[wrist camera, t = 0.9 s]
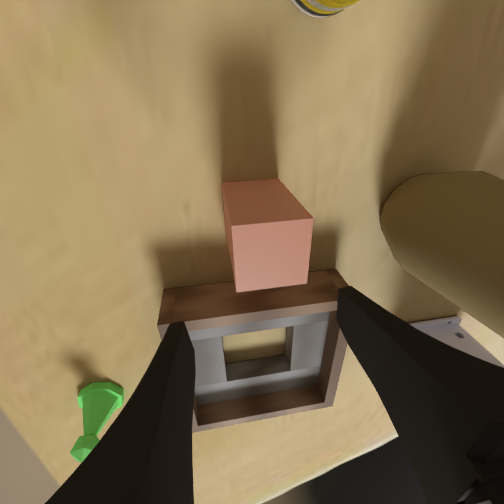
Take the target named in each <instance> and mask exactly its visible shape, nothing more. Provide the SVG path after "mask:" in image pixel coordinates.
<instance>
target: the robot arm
mask: <svg viewBox="0 0 504 504" xmlns="http://www.w3.org/2000/svg"><path fill="white" fill-rule="evenodd" d="M336 320H337V322H338V325H339V327H340V329H341V331H342V333H343V336H344V338H345V340H346V341H347V343H348V345H349V346H350V348H351V350H352V351H353V353H354V355H355V356H356V358H357V359H358V361H359V363H360V364H361V366H362V367H363V369H364V371H365V372H366V374H367V375H368V377H369V379H370V380H371V382H372V384H373V385H374V387H375V389H376V391H377V392H378V394H379V396H380V398H381V400H382V402H383V404H384V406H385V408H386V410H387V412H388V414H389V417H390V419H391V421H392V423H393V425H394V427H395V429H396V431H397V433H398V436H399V437H400V440H401V442H402V444H403V446H404V449H405V451H406V453H407V456H408V458H409V460H410V462H411V465H412V467H413V469H414V471H415V474H416V476H417V479H418V481H419V483H420V486H421V488H422V491H423V493H424V495H425V498H426V500H427V503H428V504H504V365H503V364H502V363H501V362H500V361H499V360H497V359H496V358H495V357H494V356H493V355H492V354H491V353H490V352H489V351H488V350H486V349H485V348H484V347H483V346H482V345H481V344H480V343H479V342H478V341H476V340H475V339H474V338H473V337H472V336H471V335H470V334H469V333H468V332H466V331H465V330H464V329H463V328H462V327H461V326H460V325H459V324H460V322H461V318H460V317H458V316H455V317H448V318H442V319H435V320H429V321H422V322H416V323H409V324H408V323H406V322H405V321H403V320H401V319H400V318H398V317H396V316H395V315H393V314H392V313H390V312H388V311H387V310H385V309H384V308H382V307H381V306H379V305H378V304H376V303H375V302H374V301H372V300H371V299H369V298H368V297H366V296H365V295H363V294H362V293H361V292H359V291H358V290H356V289H355V288H353V287H352V286H348V287H343V288H338V302H337V317H336ZM195 377H196V367H195V350H194V347H193V345H192V342H191V339H190V336H189V334H188V331H187V328H186V325H185V323H184V321H180V322H175V323H171V324H169V326H168V328H167V330H166V332H165V335H164V337H163V339H162V341H161V343H160V345H159V347H158V349H157V352H156V353H155V355H154V357H153V359H152V361H151V363H150V365H149V367H148V369H147V371H146V372H145V374H144V376H143V378H142V379H141V381H140V383H139V384H138V386H137V388H136V389H135V391H134V393H133V394H132V396H131V397H130V399H129V401H128V402H127V404H126V405H125V407H124V408H123V410H122V411H121V412H120V414H119V415H118V417H117V418H116V420H115V421H114V422H113V424H112V425H111V426H110V428H109V429H108V430H107V432H106V433H105V434H104V436H103V437H102V438H101V440H100V441H99V442H98V443H97V445H96V446H95V447H94V448H93V450H92V451H91V452H90V453H89V454H88V456H87V457H86V458H85V459H84V460H83V462H82V463H81V464H80V465H79V466H78V468H77V469H76V470H75V471H74V472H73V474H72V475H71V476H70V477H69V478H68V479H67V480H66V482H65V483H64V484H63V485H62V486H61V487H60V488H59V489H58V490H57V491H56V492H55V494H54V495H53V496H52V497H51V498H50V499H49V500H48V501H47V502H46V503H45V504H194V495H193V467H192V422H193V407H194V393H195Z"/></svg>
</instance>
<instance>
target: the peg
mask: <svg viewBox="0 0 504 504" xmlns="http://www.w3.org/2000/svg"><path fill="white" fill-rule="evenodd" d="M222 192H223V204H224V216H225V227H226V237H227V242H228V248H229V254H230V259H231V265H232V271H233V276H234V282H235V288H236V292H244V291H252V290H260V289H268V288H276V287H284V286H292V285H300V284H307V278H308V268H309V258H310V249H311V239H312V229H313V219H314V218H313V217H312V216H311V215H310V214H309V213H308V211H307V210H306V209H305V208H304V207H303V206H302V205H301V204H300V202H299V201H298V200H297V199H296V198H295V197H294V196H293V194H292V193H291V192H290V191H289V190H288V189H287V188H286V187H285V185H284V184H283V183H282V182H281V181H280V180H279V179H264V180H251V181H237V182H223V183H222Z"/></svg>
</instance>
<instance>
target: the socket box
mask: <svg viewBox="0 0 504 504" xmlns="http://www.w3.org/2000/svg"><path fill="white" fill-rule="evenodd" d="M348 286H349V285H348V284H347V283H346V282H345V280H344V279H343V278H342V276H341V275H340V274H339V272H338V271H337V270H336V269H330V270H322V271H313V272H308V278H307V284H300V285H292V286H284V287H276V288H268V289H260V290H252V291H244V292H236V288H235V282H234V281H230V282H222V283H214V284H206V285H197V286H189V287H181V288H172V289H164V291H163V296H162V302H161V307H160V313H159V318H158V323H157V327H158V330H159V334H160V337H161V340H162V339H163V337H164V335H165V332H166V330H167V328H168V326H169V324H171V323H175V322H180V321H184V323H185V325H186V328H187V331H188V334H189V336H190V339H191V342H192V345H193V347H194V350H195V367H196V377H195V393H194V407H193V422H192V433H193V432H198V431H204V430H209V429H214V428H219V427H225V426H230V425H235V424H241V423H246V422H251V421H256V420H262V419H267V418H272V417H278V416H283V415H288V414H293V413H299V412H304V411H309V410H315V409H320V408H325V407H330V406H333V402H334V398H335V394H336V389H337V385H338V381H339V377H340V372H341V368H342V364H343V360H344V355H345V351H346V347H347V341H346V340H345V338H344V336H343V333H342V331H341V329H340V327H339V325H338V322H337V320H336V317H337V302H338V288H343V287H348ZM282 327H287V331H286V348H285V355H280V356H274V357H267V358H261V359H255V360H249V361H242V362H236V363H230V364H225V358H224V349H223V341H222V336H227V335H234V334H241V333H248V332H255V331H261V330H268V329H275V328H282Z"/></svg>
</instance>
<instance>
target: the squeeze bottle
mask: <svg viewBox="0 0 504 504" xmlns="http://www.w3.org/2000/svg"><path fill="white" fill-rule="evenodd" d="M380 222H381V230H382V232H383V234H384V236H385V238H386V241H387V243H388V245H389V247H390V249H391V251H392V254H393V256H394V258H395V259H396V260H397V262H398V263H399V264H400V266H401V267H402V268H403V270H405V271H406V272H408V273H409V274H411V275H412V276H414V277H415V278H417V279H418V280H419V281H421V282H422V283H424V284H425V285H427V286H428V287H430V288H431V289H433V290H434V291H436V292H437V293H438V294H440V295H441V296H443V297H444V298H446V299H447V300H449V301H450V302H452V303H453V304H455V305H456V306H457V307H459V308H460V309H462V310H463V311H465V312H466V313H468V314H469V315H471V316H472V317H473V318H475V319H476V320H478V321H479V322H481V323H482V324H484V325H485V326H487V327H488V328H490V329H491V330H492V331H494V332H495V333H497V334H498V335H500V336H501V337H503V338H504V180H502V179H500V178H497V177H495V176H492V175H490V174H488V173H485V172H483V171H474V172H449V173H435V174H421V175H418V176H416V177H413V178H411V179H408V180H406V181H405V182H404V183H402V184H401V185H400V186H399V187H398V188H396V189H395V190H394V191H393V192H392V194H391V195H390V196H389V198H388V199H387V201H386V202H385V204H384V206H383V210H382V213H381V216H380Z"/></svg>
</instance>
